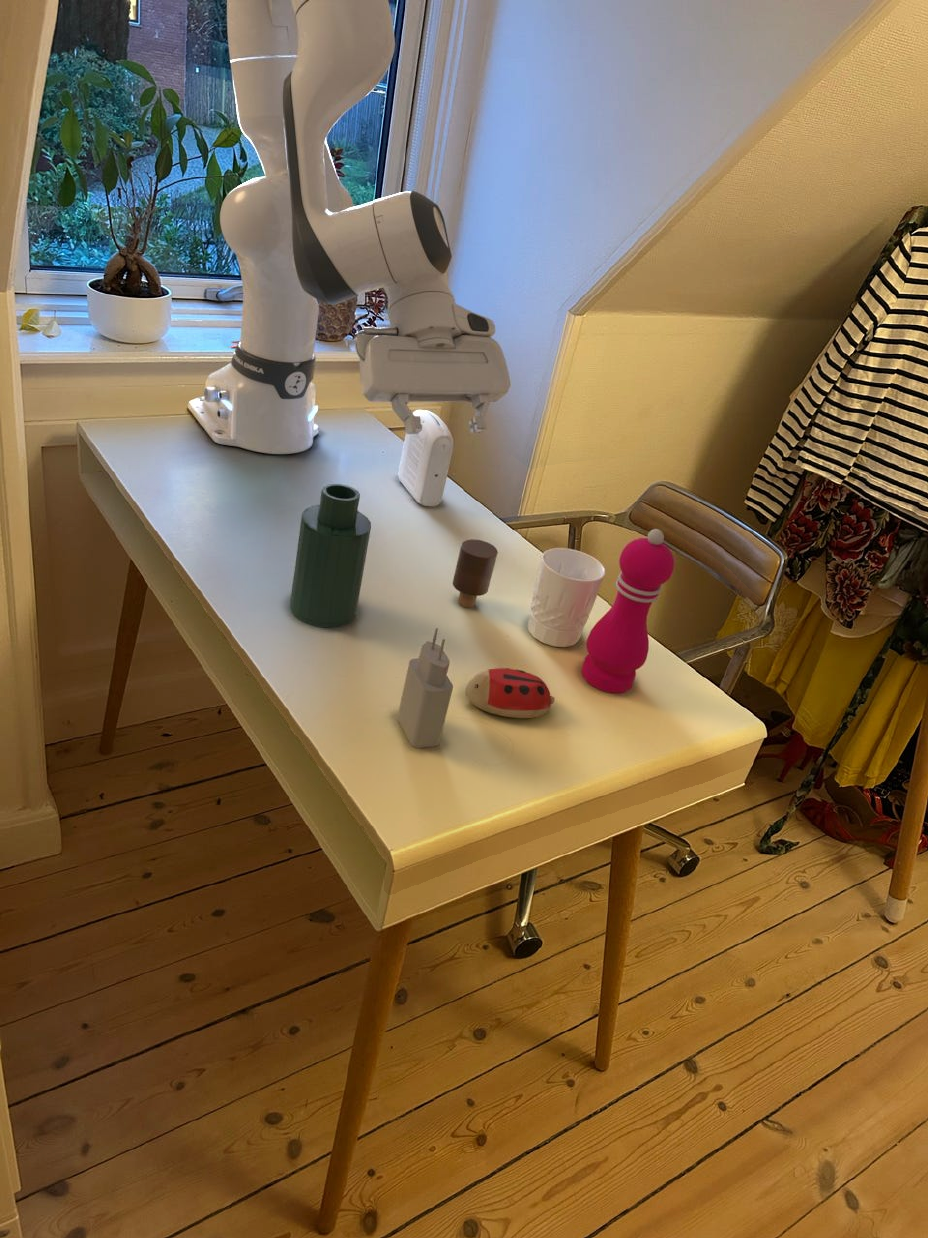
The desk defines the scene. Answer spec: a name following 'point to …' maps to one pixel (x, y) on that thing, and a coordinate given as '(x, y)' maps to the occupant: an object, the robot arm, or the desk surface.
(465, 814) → the desk surface
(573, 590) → the white cup
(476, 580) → the stopper
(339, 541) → the bottle
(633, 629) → the pepper mill
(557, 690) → the desk surface
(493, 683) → the ladybug figurine
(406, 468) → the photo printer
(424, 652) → the power adapter
